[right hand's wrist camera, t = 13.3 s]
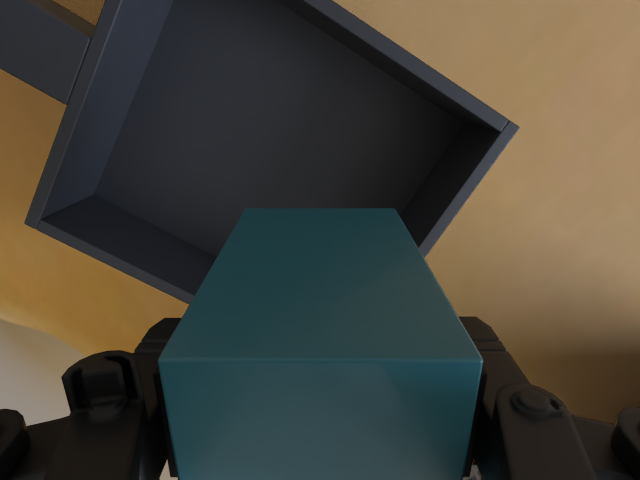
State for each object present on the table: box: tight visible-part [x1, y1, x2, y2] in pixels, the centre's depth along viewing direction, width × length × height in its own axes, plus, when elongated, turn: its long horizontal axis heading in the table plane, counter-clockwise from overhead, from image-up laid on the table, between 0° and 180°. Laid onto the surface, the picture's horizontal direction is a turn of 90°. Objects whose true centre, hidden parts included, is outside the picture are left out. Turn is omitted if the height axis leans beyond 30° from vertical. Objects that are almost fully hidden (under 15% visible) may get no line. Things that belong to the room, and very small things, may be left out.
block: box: [158, 208, 483, 480], centre depth 11 cm, size 5×5×8 cm
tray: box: [0, 0, 519, 305], centre depth 20 cm, size 31×15×6 cm, turn 59°
